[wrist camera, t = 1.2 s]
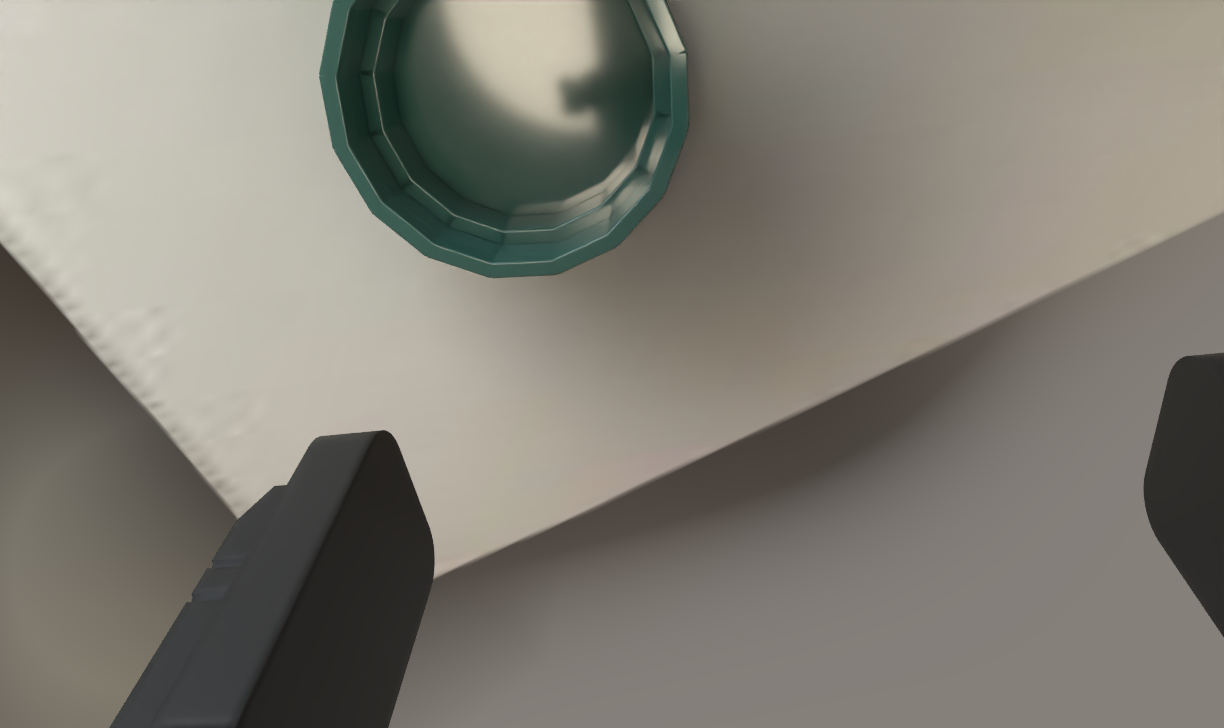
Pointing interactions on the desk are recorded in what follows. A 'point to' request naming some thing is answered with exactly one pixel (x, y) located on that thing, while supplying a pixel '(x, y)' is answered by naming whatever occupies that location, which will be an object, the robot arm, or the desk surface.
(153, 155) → the desk surface
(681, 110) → the bowl
